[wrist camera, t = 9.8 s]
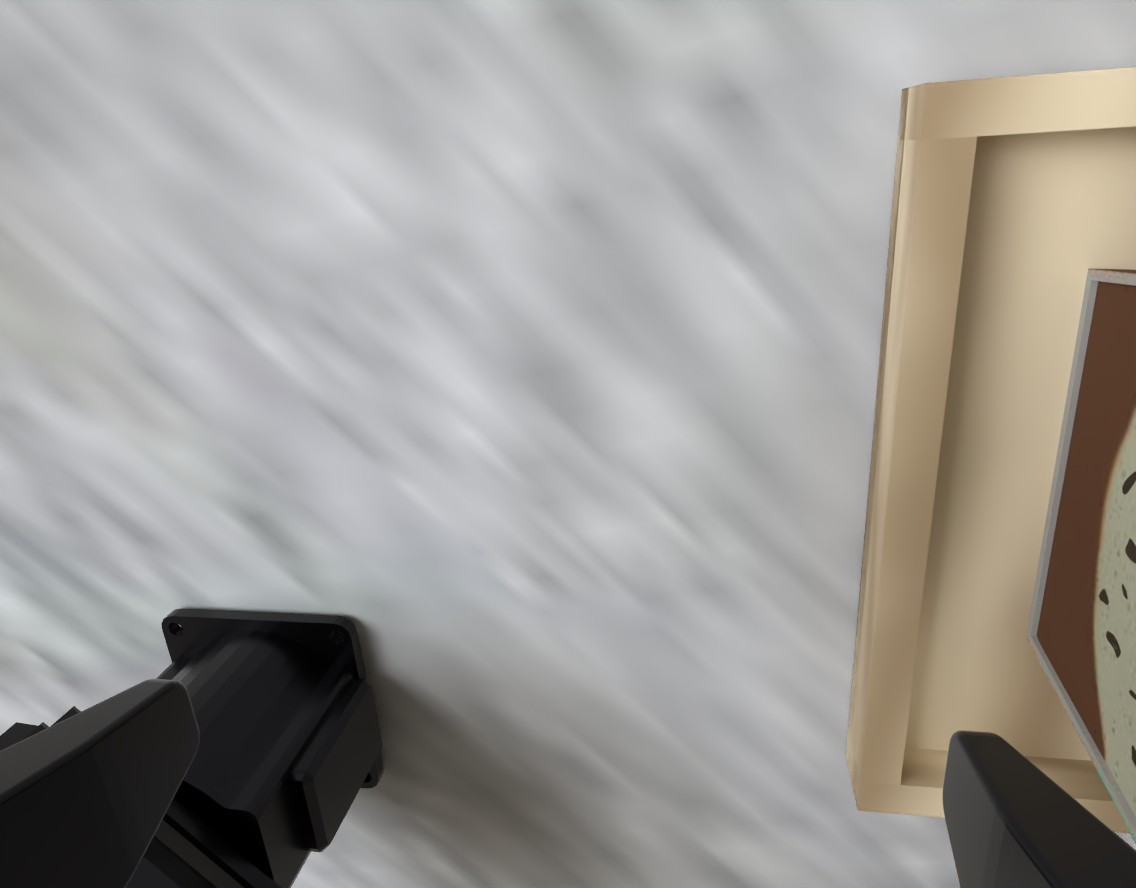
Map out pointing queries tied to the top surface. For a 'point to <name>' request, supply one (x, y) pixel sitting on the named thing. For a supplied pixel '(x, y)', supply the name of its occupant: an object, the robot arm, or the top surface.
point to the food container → (1095, 541)
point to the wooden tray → (979, 419)
